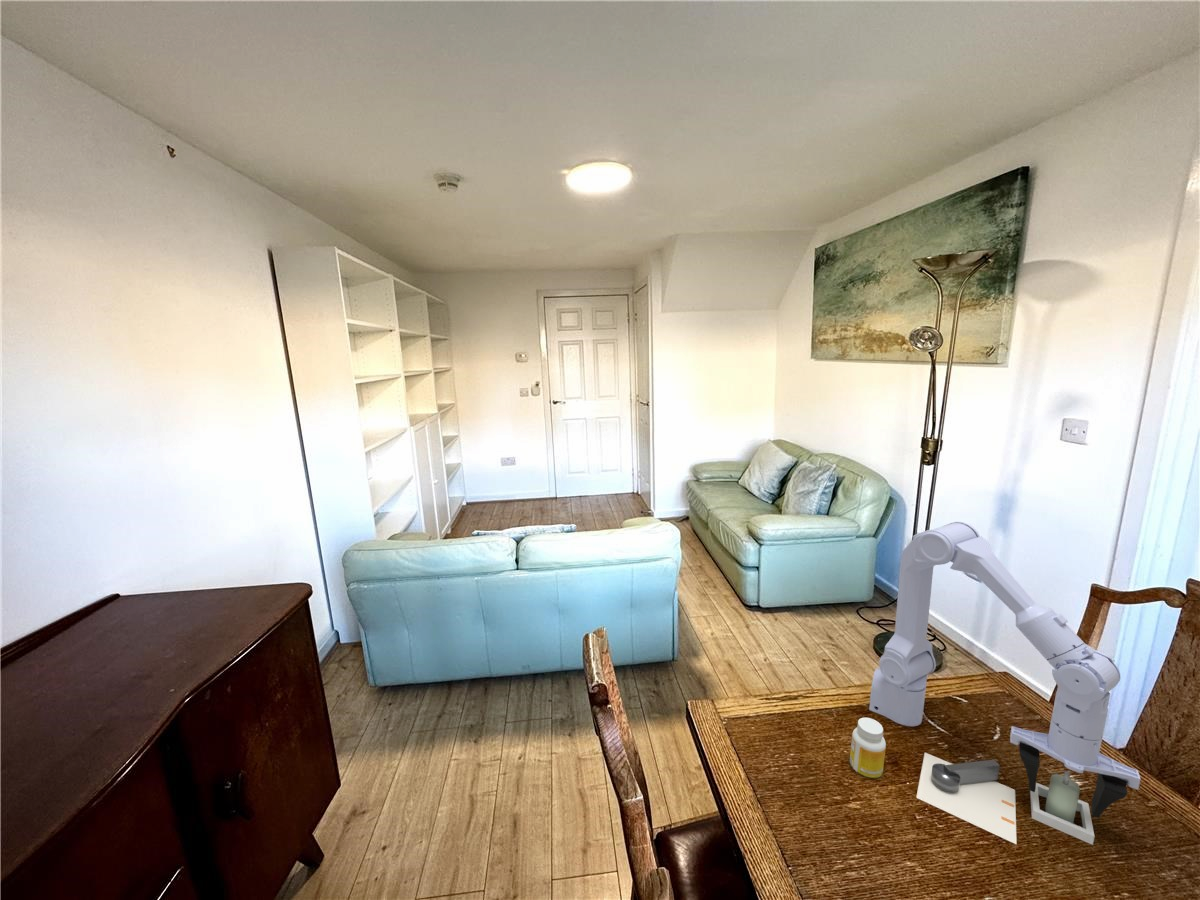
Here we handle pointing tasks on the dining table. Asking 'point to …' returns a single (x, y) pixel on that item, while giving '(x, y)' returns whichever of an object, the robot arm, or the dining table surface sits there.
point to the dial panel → (972, 801)
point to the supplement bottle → (868, 748)
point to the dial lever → (963, 774)
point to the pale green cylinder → (1062, 797)
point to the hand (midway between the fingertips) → (1062, 799)
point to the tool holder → (1060, 824)
